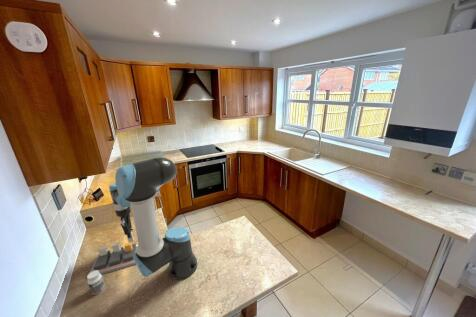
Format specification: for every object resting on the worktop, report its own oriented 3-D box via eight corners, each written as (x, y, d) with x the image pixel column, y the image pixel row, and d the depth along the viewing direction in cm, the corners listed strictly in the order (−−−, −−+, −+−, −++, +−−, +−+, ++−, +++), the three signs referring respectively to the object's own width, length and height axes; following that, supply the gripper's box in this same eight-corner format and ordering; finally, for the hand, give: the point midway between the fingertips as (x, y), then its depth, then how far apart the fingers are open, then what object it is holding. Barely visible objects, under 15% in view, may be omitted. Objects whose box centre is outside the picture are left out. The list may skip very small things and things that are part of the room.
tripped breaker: (132, 251, 112) (130, 244, 111) (125, 252, 111) (124, 246, 110) (132, 248, 114) (131, 242, 113) (126, 249, 113) (125, 243, 112)
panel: (138, 263, 108) (135, 251, 106) (88, 278, 101) (83, 265, 98) (141, 245, 123) (139, 234, 120) (98, 256, 115) (94, 245, 113)
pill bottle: (90, 290, 94) (84, 274, 91) (104, 282, 98) (98, 267, 95) (92, 297, 90) (86, 281, 87) (106, 289, 94) (101, 273, 91)
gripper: (127, 211, 108) (136, 246, 114) (131, 201, 120) (139, 233, 126) (112, 214, 105) (122, 250, 112) (117, 204, 117) (126, 236, 124)
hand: (131, 241), depth 119 cm, fingers closed
